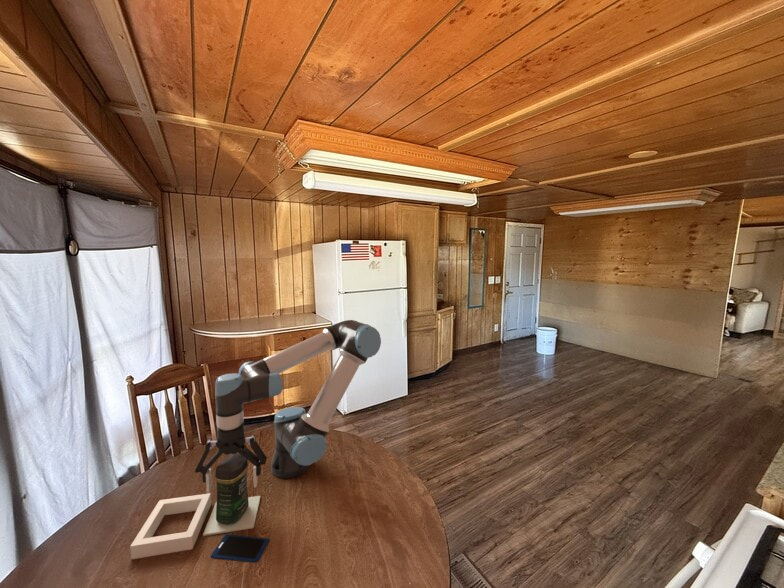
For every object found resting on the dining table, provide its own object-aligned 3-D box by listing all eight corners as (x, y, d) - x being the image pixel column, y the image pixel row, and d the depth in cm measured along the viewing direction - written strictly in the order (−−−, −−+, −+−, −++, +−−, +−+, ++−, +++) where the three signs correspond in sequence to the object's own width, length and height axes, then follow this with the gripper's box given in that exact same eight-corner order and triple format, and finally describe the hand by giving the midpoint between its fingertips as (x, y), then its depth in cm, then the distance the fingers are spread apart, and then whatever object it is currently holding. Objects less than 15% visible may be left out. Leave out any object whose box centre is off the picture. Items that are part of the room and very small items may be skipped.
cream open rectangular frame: (211, 504, 108) (210, 493, 107) (192, 549, 91) (191, 536, 91) (160, 511, 104) (159, 500, 104) (131, 559, 88) (130, 546, 87)
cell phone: (225, 536, 96) (225, 533, 96) (270, 540, 95) (270, 538, 95) (209, 559, 89) (209, 556, 89) (257, 564, 88) (257, 561, 88)
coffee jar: (235, 527, 98) (234, 470, 96) (211, 524, 99) (209, 468, 97) (253, 504, 107) (251, 451, 105) (231, 501, 108) (229, 449, 106)
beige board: (260, 497, 111) (260, 495, 111) (253, 528, 99) (253, 526, 99) (216, 503, 108) (216, 501, 108) (203, 536, 96) (203, 534, 95)
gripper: (274, 414, 106) (275, 474, 109) (190, 422, 101) (193, 484, 103) (271, 426, 99) (272, 489, 102) (180, 435, 93) (184, 502, 96)
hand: (232, 487), depth 102 cm, fingers open, 13 cm apart
